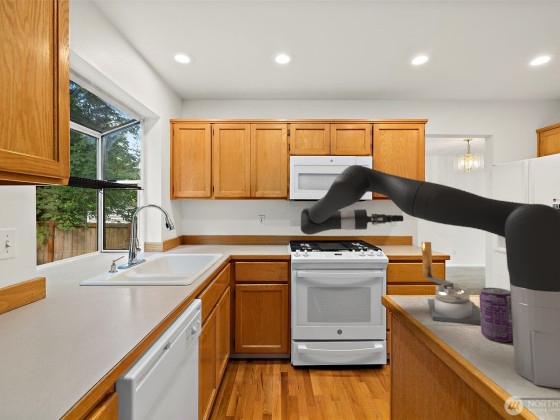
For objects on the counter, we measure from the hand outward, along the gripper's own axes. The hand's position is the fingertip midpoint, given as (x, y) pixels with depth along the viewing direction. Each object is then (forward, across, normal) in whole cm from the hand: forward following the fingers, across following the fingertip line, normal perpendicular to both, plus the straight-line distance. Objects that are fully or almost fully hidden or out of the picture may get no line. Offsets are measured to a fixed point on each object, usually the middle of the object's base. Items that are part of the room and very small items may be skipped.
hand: (402, 218), depth 106 cm
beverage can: (+17, -28, +31) cm, 45 cm away
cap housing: (+13, -8, +31) cm, 34 cm away
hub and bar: (+10, -8, +25) cm, 28 cm away
